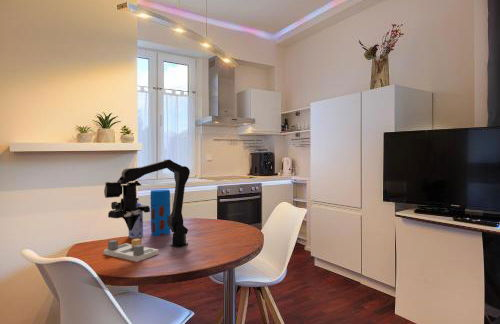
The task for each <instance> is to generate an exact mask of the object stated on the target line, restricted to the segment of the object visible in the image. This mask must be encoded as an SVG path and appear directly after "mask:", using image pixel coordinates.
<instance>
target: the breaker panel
mask: <svg viewBox="0 0 500 324" xmlns="http://www.w3.org/2000/svg"><path fill="white" fill-rule="evenodd" d="M103 254H104V255H106V256H109V257H110V256H111V257H115V258H118V259H124V260H127V261H131V262H136V263H137V262H140V261H144V260H146V259H148V258H151V257H154V256H156V255H159V249H158V248H153V247H147V246H144V245H143V244H141V245H136V246H133V248H132V244H130V243H127V242H126V243H123V244H119V240H116V239H112V240H108V241H107V248H106V249H103Z"/></svg>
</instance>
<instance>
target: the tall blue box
mask: <svg viewBox="0 0 500 324" xmlns="http://www.w3.org/2000/svg"><path fill="white" fill-rule="evenodd" d="M168 215H171V191H170V189H153V190H150V232H151V236H153V237H162V236H168V235H170V234H171V229H170V228H169V227H168V224H167V223H166V222H167V216H168Z"/></svg>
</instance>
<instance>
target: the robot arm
mask: <svg viewBox="0 0 500 324" xmlns="http://www.w3.org/2000/svg"><path fill="white" fill-rule="evenodd" d="M165 169H167V170H169V171H170V172H172V173H173V177H174V182H175V187H174V196H173V203H172V204H173V205H172V211H171V212H170V215H168V216H167V222H166V223H167V224H168V227H169V228H170V232H171V233H172V238H171V241H172V242H171V243H172V244H170V245H169V246H170V247H174V248H175V247H176V248H182V247H185V246H188V245H189V243H188V242H187V234H188V232H189V229H188V228H187V227H186V226H185V225H184V217H183V213H182V211H183V203H184V195H185V187H186V184H187V182H188V180H189V178H190V173H191V172H190V171H191V170H190V169H189V167H187V166H185V165H180V164H178V163H176V162H175V161H173V160H171V159H168V158H166V159H163V160H161V161H158V162H155V163H154V162H153V163H150V164H148V165H144V166H137V167H128V168H125V169H123V170H122V172H121V176H119V179H118V180H117V181H116V182H115V181H113V182H110V181H107V182H105V183H104V184H105V186H104V191H103V194H104V198H106V199H109V198H111V199H112V198H119V197H120V196H122V198H120V202H118V201H112V202H111V204H110V205H111V210H109V211H108V213H107V218H110V219H121V218H122V219H123V220H124V222H125V224H126V227H127V229H128V231H129V230H130V231H131V230H132V229H133V227H134V224H135V222H136V220H137V219H138V217H139V216H140V214H138V212H140V211H143V212H144V213H145V214H147V213H151V206H149V205H143V204H141V206H137V201H139V198H138V197H137V187H138V186H139V187H140V186H142V184H141V183H140V182H139V181H138V180H139V179H141V178H142V177H144V176H146V175H149V174H151V173H155V172H159V171H161V170H165Z"/></svg>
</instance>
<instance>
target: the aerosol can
mask: <svg viewBox="0 0 500 324" xmlns="http://www.w3.org/2000/svg"><path fill="white" fill-rule="evenodd" d="M138 201H139V200H137V206H141V205H142V204H141V203H140V202H138ZM143 212H144V211H140V212H138V214H140V216H139V217H138V219H137V220H136V222H135V224H134V227H133V229H132V230H131V231H130V230H129V229H128V238H129V239H141V238H143V237H144V219H143V217H144V216H143V214H144V213H143Z"/></svg>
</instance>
